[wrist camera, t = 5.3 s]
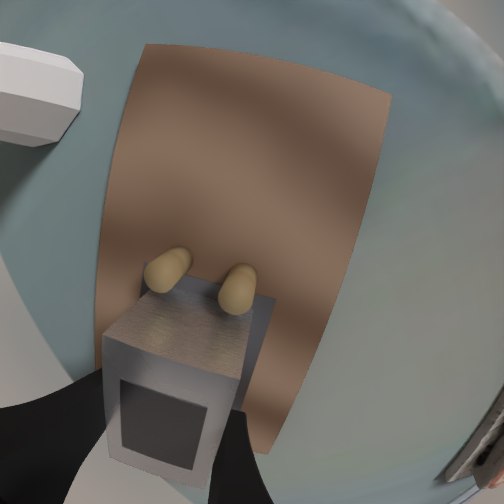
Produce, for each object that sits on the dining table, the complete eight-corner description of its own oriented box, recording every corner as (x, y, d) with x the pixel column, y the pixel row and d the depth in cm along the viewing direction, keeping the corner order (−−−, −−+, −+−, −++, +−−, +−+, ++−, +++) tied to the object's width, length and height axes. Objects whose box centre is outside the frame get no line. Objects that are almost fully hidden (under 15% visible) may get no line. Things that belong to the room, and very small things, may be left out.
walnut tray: (268, 443, 16) (265, 485, 13) (104, 392, 17) (79, 425, 13) (384, 99, 11) (415, 78, 8) (153, 51, 12) (121, 22, 8)
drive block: (221, 418, 15) (203, 490, 10) (145, 394, 15) (109, 457, 10) (253, 309, 13) (240, 380, 8) (157, 282, 13) (101, 335, 8)
